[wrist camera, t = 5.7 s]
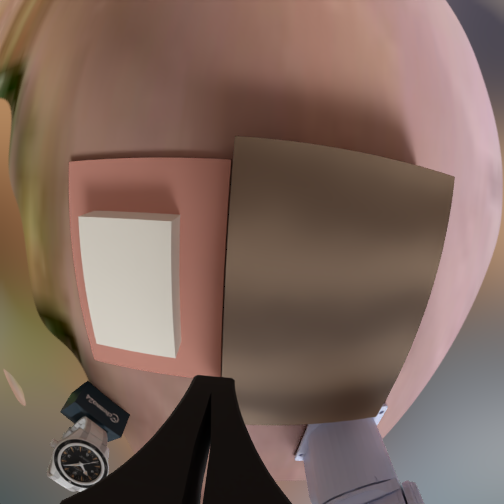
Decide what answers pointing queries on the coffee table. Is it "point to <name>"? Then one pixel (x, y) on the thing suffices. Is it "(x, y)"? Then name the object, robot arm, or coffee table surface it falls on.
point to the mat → (190, 252)
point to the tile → (133, 279)
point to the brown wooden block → (325, 277)
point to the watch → (86, 439)
